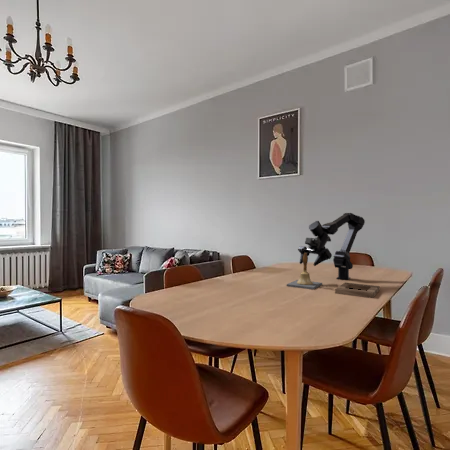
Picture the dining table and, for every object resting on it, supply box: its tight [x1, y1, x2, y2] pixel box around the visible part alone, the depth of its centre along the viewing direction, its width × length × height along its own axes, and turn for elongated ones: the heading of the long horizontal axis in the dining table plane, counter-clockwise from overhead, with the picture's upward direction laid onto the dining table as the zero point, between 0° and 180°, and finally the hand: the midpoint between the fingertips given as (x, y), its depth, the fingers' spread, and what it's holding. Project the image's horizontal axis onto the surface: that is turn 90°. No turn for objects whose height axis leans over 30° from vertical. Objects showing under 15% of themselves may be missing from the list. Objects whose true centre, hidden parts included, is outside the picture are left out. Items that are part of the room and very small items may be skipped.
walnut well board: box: [334, 282, 380, 299], centre depth 147 cm, size 18×16×2 cm
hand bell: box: [297, 253, 314, 285], centre depth 162 cm, size 8×8×16 cm
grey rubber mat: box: [286, 279, 323, 290], centre depth 162 cm, size 14×14×1 cm
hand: (306, 264), depth 163 cm, fingers open, 9 cm apart
